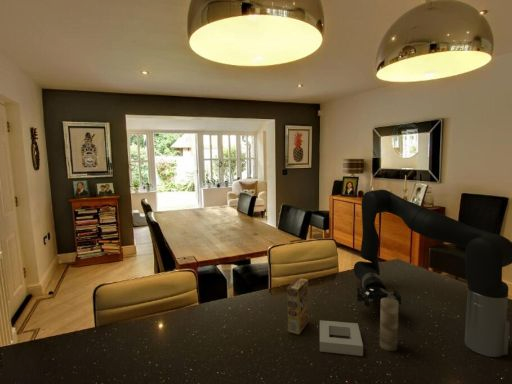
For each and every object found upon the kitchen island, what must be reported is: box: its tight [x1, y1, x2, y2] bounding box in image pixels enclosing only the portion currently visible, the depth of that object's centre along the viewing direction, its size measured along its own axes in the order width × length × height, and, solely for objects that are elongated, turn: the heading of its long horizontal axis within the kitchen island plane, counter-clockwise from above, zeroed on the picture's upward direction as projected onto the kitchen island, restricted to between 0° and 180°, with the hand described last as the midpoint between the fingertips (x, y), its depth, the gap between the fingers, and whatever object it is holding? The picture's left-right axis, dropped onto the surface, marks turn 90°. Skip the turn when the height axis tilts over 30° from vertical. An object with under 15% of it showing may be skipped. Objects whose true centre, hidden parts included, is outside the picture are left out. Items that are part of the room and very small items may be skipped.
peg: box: [379, 298, 400, 352], centre depth 90 cm, size 5×5×14 cm
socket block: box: [319, 319, 364, 357], centre depth 93 cm, size 12×12×3 cm
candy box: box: [286, 277, 309, 335], centre depth 101 cm, size 9×4×15 cm, turn 150°
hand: (381, 305), depth 100 cm, fingers open, 8 cm apart
